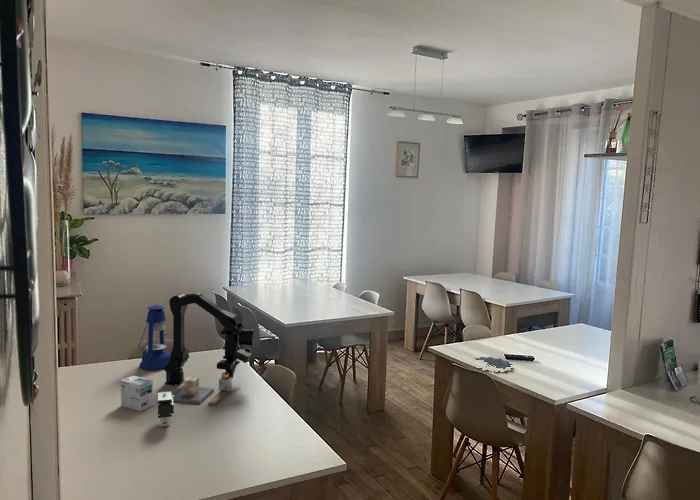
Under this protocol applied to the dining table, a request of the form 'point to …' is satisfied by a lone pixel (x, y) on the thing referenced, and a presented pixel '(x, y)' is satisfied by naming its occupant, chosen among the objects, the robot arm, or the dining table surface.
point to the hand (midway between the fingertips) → (231, 378)
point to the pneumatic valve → (165, 407)
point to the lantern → (156, 354)
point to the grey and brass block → (225, 382)
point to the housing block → (191, 385)
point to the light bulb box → (136, 393)
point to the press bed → (198, 396)
